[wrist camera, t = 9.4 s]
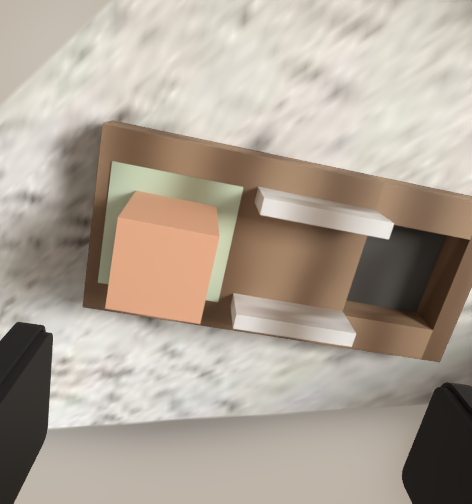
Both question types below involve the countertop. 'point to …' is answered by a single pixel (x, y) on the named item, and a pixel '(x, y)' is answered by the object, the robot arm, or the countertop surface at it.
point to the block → (163, 257)
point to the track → (298, 243)
